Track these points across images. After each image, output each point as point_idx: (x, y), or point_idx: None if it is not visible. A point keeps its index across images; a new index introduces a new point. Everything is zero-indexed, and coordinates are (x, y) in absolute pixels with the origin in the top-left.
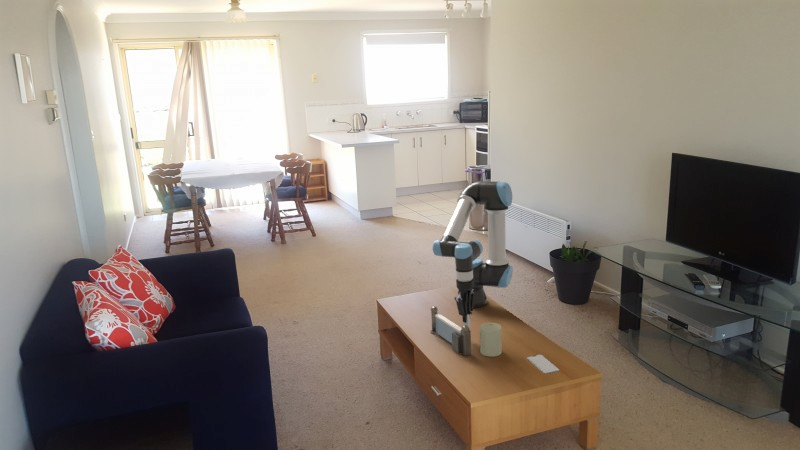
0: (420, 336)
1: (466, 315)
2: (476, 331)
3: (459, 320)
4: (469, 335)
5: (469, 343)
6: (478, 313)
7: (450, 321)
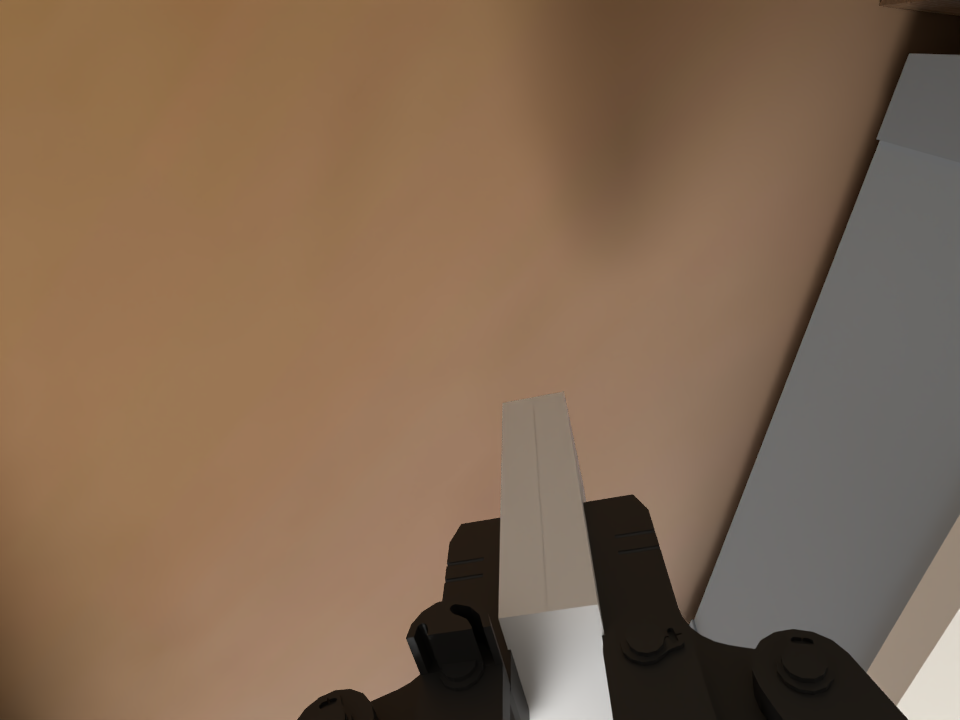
0: None
1: (649, 623)
2: (294, 428)
3: (292, 701)
4: None
5: None
6: (34, 691)
7: (930, 681)
